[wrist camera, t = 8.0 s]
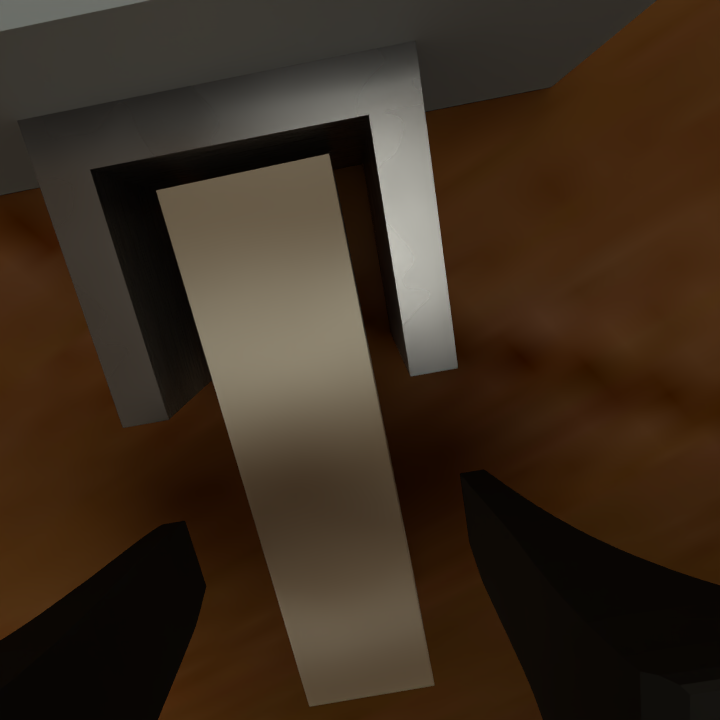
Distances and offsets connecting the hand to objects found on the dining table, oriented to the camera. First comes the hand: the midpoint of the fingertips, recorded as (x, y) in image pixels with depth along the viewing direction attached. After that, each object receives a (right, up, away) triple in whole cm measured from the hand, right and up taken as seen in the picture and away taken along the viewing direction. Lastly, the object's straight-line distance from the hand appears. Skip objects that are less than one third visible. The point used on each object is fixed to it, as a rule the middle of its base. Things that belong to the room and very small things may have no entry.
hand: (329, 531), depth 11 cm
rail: (0, +3, +3) cm, 4 cm away
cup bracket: (-1, +7, +2) cm, 7 cm away
